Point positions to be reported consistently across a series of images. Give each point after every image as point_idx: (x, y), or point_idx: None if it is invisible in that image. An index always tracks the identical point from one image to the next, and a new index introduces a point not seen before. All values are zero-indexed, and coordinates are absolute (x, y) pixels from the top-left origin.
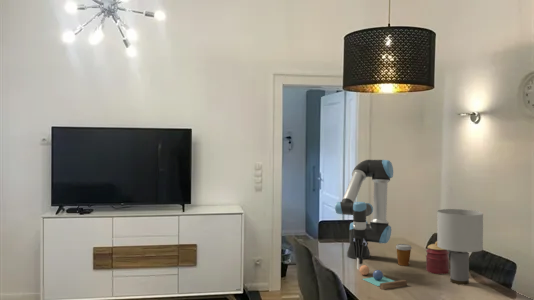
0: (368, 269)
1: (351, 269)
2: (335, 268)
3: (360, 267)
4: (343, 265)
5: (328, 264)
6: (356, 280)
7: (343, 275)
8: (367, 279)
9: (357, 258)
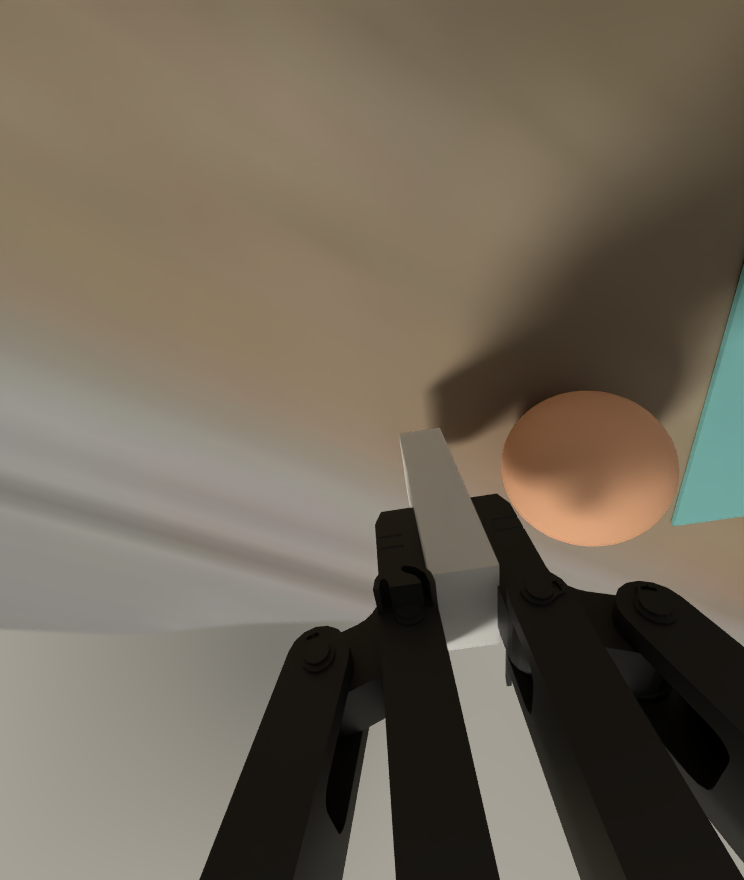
0: (671, 441)
1: (258, 478)
2: (195, 609)
3: (577, 544)
4: (40, 498)
5: (13, 621)
6: (665, 577)
7: None
8: (733, 485)
9: (457, 639)
